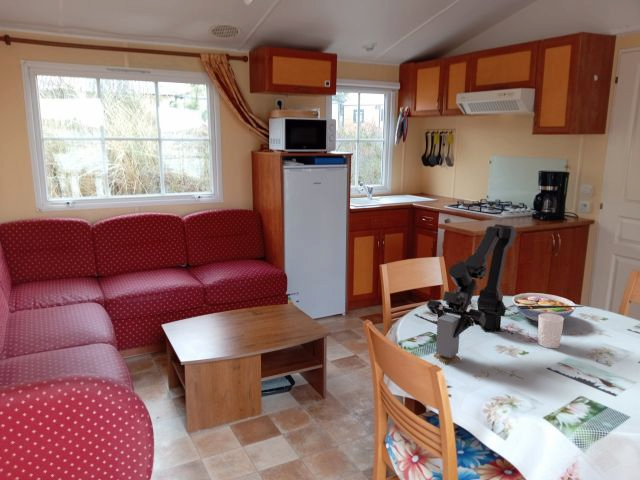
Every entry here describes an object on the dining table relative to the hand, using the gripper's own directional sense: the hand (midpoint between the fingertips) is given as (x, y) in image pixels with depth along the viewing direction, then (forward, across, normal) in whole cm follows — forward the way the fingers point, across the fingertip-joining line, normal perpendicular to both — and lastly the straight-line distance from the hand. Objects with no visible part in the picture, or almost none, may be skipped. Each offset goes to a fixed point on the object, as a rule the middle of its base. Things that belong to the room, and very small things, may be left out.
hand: (446, 335), depth 161 cm
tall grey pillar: (+4, 0, +6) cm, 7 cm away
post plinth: (+5, 0, +7) cm, 9 cm away
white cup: (-18, +21, +31) cm, 41 cm away
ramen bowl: (-34, +12, +46) cm, 59 cm away
